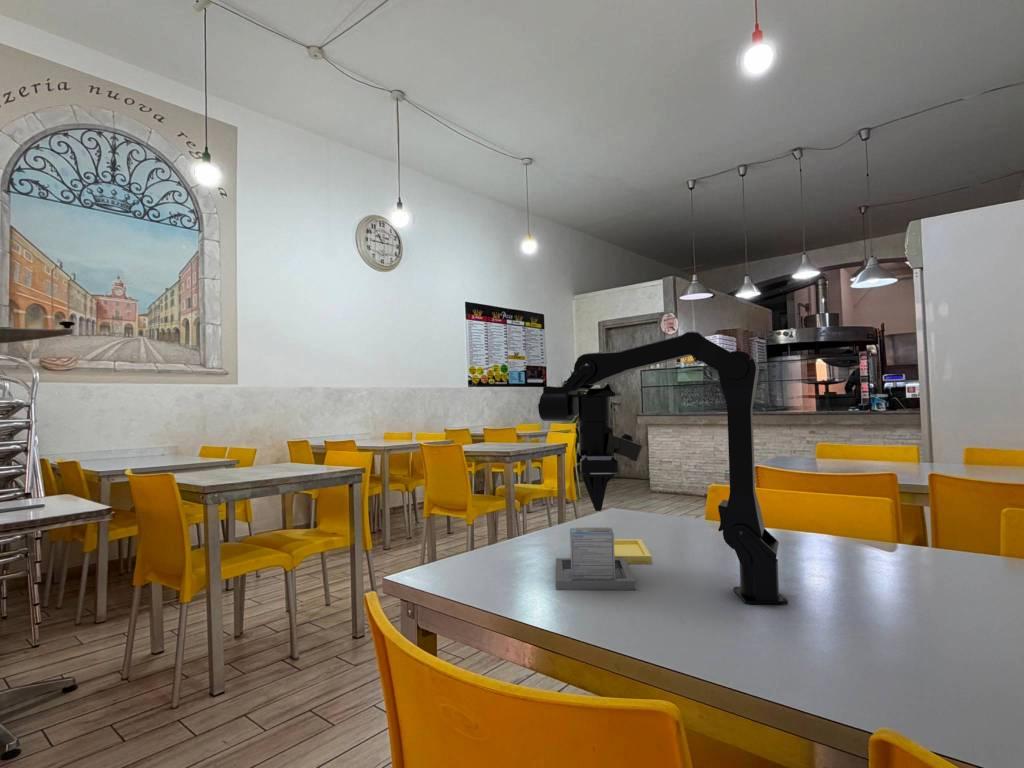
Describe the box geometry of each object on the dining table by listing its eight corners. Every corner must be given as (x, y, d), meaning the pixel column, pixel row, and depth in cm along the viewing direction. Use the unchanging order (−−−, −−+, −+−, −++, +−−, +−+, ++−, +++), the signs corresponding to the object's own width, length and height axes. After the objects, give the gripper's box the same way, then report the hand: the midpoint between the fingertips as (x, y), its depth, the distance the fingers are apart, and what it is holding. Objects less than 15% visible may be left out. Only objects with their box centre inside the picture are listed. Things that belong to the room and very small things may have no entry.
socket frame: (635, 589, 93) (635, 581, 93) (556, 589, 94) (556, 580, 94) (625, 565, 106) (625, 558, 106) (556, 565, 107) (556, 558, 107)
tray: (651, 563, 107) (651, 556, 107) (605, 563, 108) (605, 556, 108) (641, 546, 120) (641, 539, 120) (600, 546, 121) (599, 539, 121)
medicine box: (613, 573, 102) (612, 526, 102) (615, 581, 97) (614, 532, 98) (571, 573, 103) (569, 527, 103) (571, 581, 98) (570, 532, 98)
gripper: (647, 423, 92) (649, 516, 92) (630, 418, 111) (632, 496, 110) (580, 424, 93) (582, 516, 92) (575, 419, 111) (576, 496, 111)
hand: (596, 505), depth 101 cm, fingers open, 9 cm apart
